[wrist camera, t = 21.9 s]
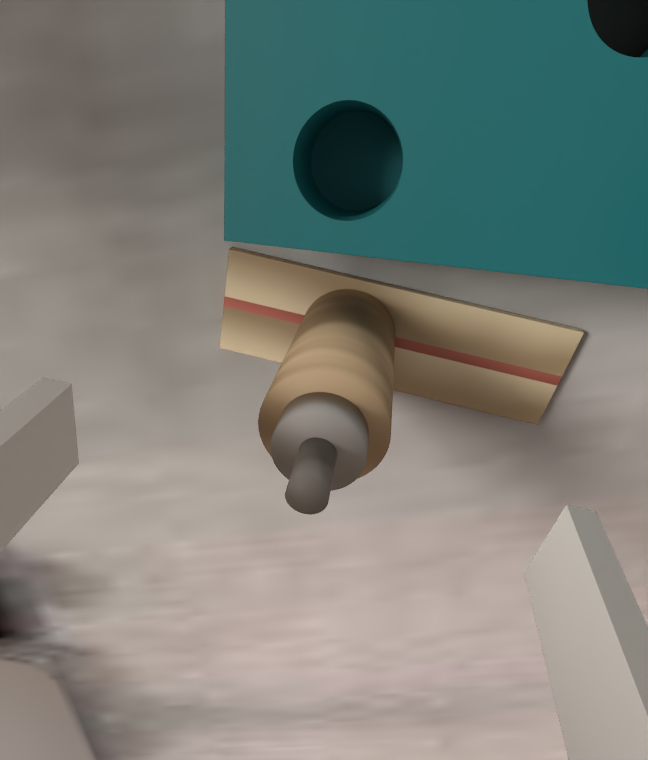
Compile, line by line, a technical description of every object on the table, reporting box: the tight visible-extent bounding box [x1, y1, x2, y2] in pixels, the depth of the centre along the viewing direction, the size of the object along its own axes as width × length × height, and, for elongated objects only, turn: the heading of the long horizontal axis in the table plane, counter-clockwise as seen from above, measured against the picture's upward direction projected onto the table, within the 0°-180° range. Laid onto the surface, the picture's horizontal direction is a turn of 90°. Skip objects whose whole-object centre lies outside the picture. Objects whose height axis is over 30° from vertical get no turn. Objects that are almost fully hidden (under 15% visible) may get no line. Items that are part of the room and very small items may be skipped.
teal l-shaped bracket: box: [224, 0, 648, 289], centre depth 14 cm, size 18×11×10 cm, turn 86°
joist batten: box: [220, 247, 584, 425], centre depth 23 cm, size 5×16×1 cm, turn 79°
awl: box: [258, 289, 395, 514], centre depth 18 cm, size 4×4×11 cm
